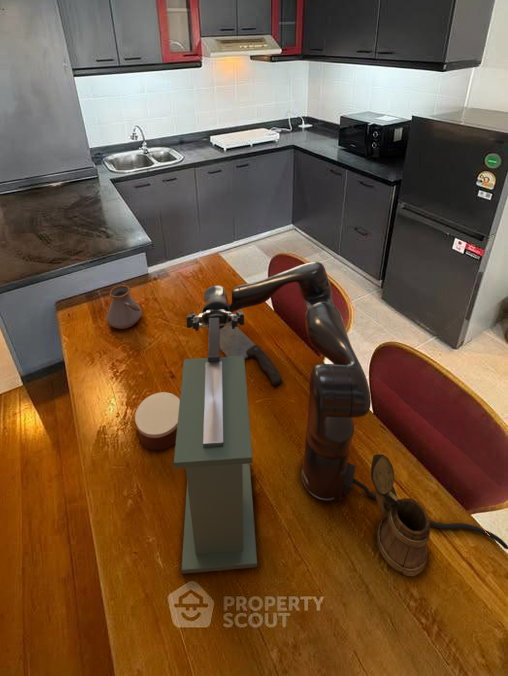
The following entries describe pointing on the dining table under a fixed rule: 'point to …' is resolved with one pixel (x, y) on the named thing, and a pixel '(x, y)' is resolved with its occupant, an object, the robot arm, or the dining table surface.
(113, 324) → the coffee pot
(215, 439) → the knife
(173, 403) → the cake
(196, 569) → the display stand
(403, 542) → the wooden mug
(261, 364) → the cleaver
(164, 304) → the dining table surface
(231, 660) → the dining table surface
